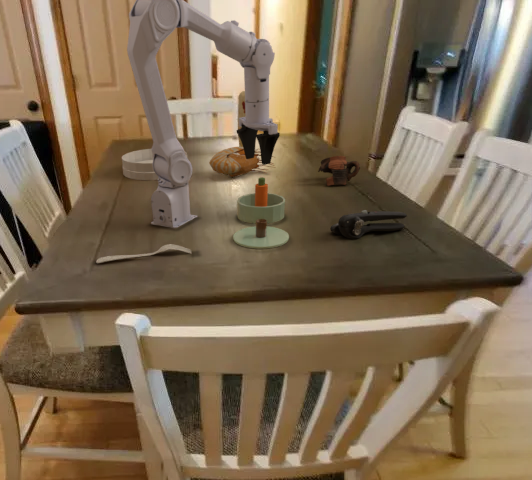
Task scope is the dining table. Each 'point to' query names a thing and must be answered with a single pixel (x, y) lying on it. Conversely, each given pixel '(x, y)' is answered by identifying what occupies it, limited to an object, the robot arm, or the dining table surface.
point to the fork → (163, 248)
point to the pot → (261, 208)
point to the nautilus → (235, 162)
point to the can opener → (355, 226)
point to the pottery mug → (338, 169)
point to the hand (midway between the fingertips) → (258, 161)
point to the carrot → (261, 193)
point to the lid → (261, 236)
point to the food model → (241, 112)
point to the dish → (139, 165)
